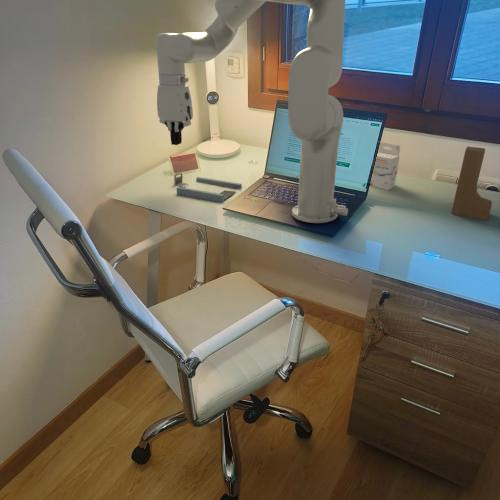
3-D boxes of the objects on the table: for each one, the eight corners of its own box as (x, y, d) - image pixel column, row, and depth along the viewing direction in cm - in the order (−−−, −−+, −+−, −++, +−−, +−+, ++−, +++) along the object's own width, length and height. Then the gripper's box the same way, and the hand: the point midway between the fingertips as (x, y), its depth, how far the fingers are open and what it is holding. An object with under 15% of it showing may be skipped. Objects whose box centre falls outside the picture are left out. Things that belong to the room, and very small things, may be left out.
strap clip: (190, 187, 142) (190, 175, 140) (183, 189, 140) (182, 177, 138) (175, 181, 148) (174, 169, 146) (167, 183, 146) (166, 171, 144)
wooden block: (488, 215, 120) (505, 150, 112) (487, 221, 116) (505, 154, 108) (452, 210, 124) (466, 146, 116) (450, 215, 120) (465, 149, 112)
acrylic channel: (241, 189, 139) (241, 183, 138) (222, 202, 129) (222, 195, 128) (198, 182, 146) (198, 176, 145) (176, 194, 136) (176, 187, 135)
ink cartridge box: (361, 190, 139) (367, 143, 132) (369, 186, 142) (375, 140, 136) (386, 196, 134) (393, 148, 127) (394, 192, 137) (401, 145, 130)
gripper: (201, 80, 127) (203, 144, 136) (159, 78, 133) (164, 138, 142) (186, 83, 121) (190, 149, 130) (143, 80, 127) (149, 143, 136)
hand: (176, 143), depth 136 cm, fingers closed
